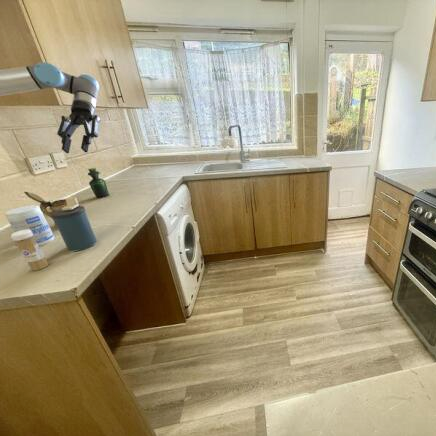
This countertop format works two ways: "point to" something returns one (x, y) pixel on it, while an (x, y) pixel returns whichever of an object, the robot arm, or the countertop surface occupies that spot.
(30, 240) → the sprinkles bottle
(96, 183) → the potion bottle
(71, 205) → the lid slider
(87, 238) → the tumbler
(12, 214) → the supplement tub
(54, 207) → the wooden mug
